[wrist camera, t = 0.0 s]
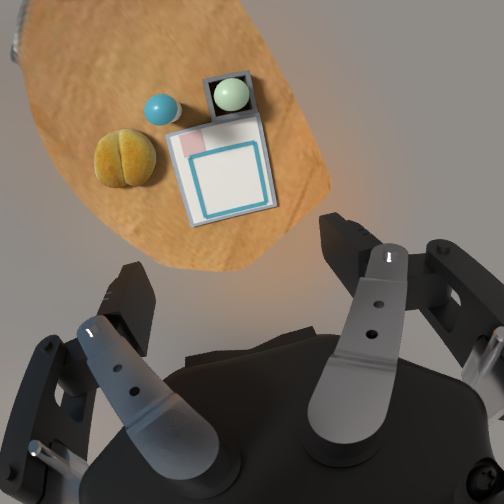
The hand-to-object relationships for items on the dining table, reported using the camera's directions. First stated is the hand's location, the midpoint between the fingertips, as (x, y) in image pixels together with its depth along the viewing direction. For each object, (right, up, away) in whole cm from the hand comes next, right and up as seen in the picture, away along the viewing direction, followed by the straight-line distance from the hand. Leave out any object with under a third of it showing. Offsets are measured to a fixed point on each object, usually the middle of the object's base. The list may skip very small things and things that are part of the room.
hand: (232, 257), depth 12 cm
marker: (-10, +19, +22) cm, 31 cm away
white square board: (-3, +12, +27) cm, 29 cm away
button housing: (-2, +21, +22) cm, 31 cm away
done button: (-2, +20, +20) cm, 29 cm away
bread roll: (-17, +13, +24) cm, 32 cm away
